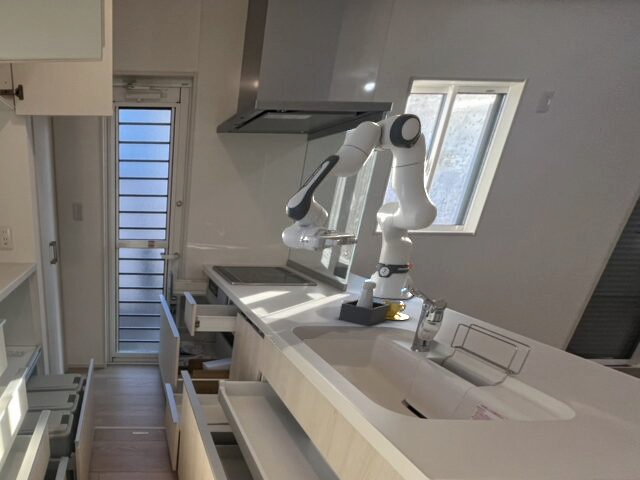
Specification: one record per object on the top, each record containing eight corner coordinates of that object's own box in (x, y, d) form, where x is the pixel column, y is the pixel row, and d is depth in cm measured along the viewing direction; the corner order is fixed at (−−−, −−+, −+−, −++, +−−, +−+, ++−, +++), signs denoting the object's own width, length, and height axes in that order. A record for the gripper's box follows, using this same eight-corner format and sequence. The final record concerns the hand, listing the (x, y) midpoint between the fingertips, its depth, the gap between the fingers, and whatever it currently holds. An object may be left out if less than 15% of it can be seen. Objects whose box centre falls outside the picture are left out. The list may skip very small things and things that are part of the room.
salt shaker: (355, 314, 152) (362, 279, 147) (372, 317, 149) (380, 281, 144) (351, 318, 148) (358, 281, 143) (368, 320, 145) (377, 283, 139)
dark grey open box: (356, 314, 156) (359, 299, 153) (385, 320, 148) (389, 304, 145) (338, 319, 150) (341, 303, 148) (368, 325, 142) (371, 309, 140)
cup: (382, 321, 147) (386, 306, 145) (365, 312, 158) (368, 298, 156) (415, 320, 147) (420, 305, 145) (396, 312, 158) (399, 298, 155)
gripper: (298, 231, 154) (328, 234, 143) (337, 229, 162) (368, 231, 151) (296, 249, 157) (325, 253, 146) (334, 246, 165) (364, 249, 153)
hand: (347, 242), depth 148 cm, fingers open, 8 cm apart
